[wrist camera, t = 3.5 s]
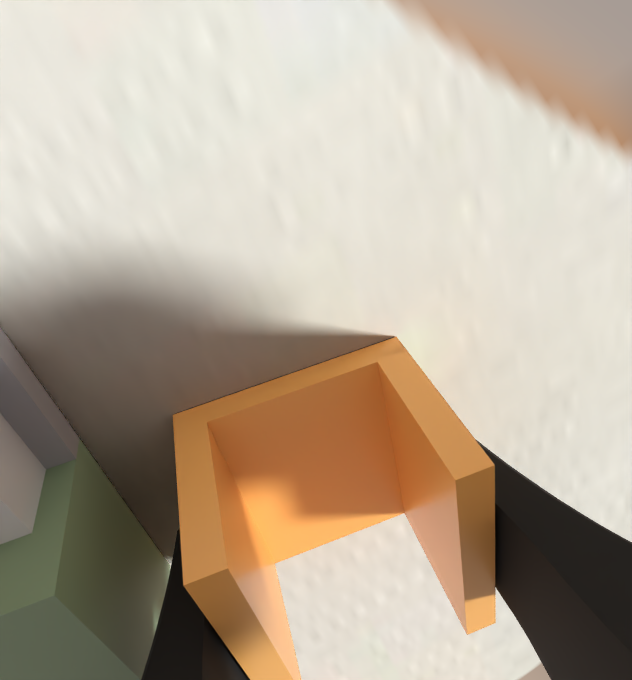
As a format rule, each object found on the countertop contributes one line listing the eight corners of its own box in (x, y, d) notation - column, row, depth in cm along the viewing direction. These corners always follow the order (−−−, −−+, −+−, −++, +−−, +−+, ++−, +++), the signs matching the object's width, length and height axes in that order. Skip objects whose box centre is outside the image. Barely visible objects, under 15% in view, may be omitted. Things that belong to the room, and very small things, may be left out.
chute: (246, 553, 14) (275, 715, 11) (172, 414, 11) (183, 586, 8) (418, 487, 15) (495, 622, 11) (396, 336, 11) (494, 464, 8)
